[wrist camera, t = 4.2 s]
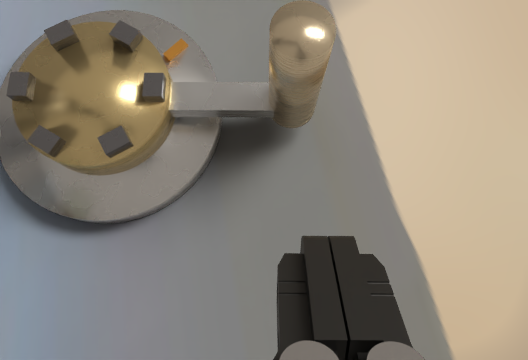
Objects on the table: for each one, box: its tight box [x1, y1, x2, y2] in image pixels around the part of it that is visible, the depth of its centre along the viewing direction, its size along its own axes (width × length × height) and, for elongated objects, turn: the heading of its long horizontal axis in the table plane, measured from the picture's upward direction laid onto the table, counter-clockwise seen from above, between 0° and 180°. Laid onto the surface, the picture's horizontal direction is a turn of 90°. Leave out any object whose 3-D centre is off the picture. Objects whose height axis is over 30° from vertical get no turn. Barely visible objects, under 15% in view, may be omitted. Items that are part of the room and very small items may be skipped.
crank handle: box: [6, 0, 336, 176], centre depth 24 cm, size 20×10×9 cm, turn 90°
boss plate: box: [0, 10, 222, 223], centre depth 30 cm, size 16×16×2 cm
